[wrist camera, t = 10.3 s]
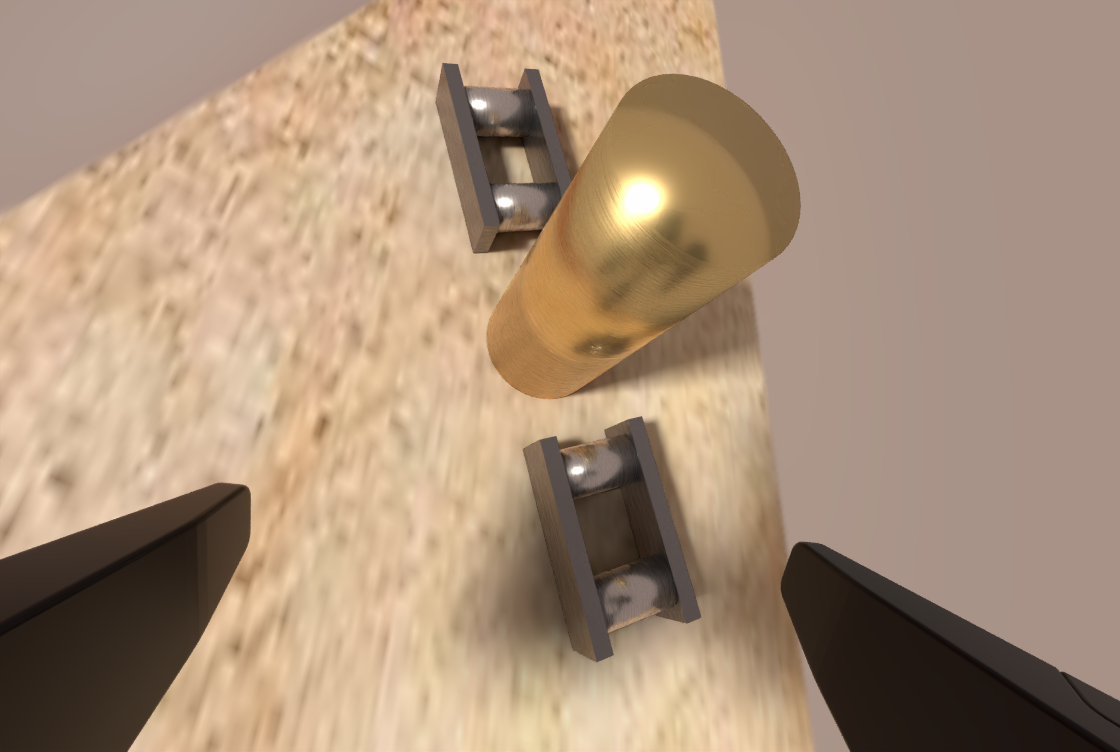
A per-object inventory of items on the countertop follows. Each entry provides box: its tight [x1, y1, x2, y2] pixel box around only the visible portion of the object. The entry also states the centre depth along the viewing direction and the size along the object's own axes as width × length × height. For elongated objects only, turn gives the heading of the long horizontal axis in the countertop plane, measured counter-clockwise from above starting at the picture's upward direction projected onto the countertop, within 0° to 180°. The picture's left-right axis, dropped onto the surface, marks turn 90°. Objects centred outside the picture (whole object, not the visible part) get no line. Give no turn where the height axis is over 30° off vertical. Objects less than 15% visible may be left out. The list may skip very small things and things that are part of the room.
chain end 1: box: [436, 63, 572, 253], centre depth 22 cm, size 7×4×2 cm, turn 14°
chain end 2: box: [523, 416, 701, 662], centre depth 19 cm, size 7×4×2 cm, turn 15°
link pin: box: [487, 74, 801, 399], centre depth 16 cm, size 5×5×11 cm
